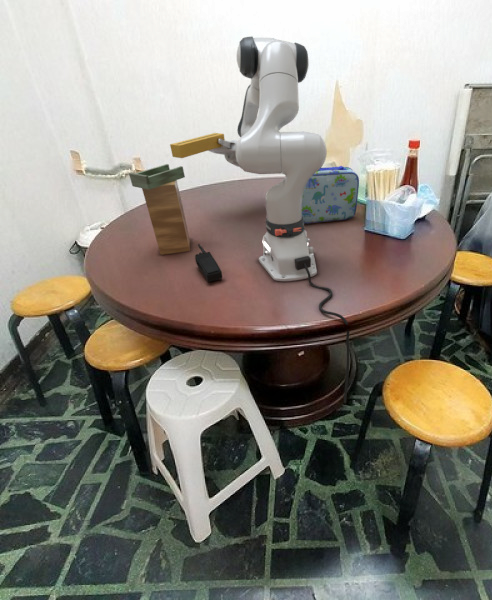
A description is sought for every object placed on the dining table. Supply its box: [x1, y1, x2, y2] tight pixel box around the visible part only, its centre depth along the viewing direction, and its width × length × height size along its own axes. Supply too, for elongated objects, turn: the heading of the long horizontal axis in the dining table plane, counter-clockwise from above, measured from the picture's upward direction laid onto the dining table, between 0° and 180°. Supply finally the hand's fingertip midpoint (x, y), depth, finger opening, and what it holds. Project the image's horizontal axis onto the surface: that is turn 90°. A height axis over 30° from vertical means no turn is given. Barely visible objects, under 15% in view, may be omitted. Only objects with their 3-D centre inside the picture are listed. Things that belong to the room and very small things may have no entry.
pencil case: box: [169, 132, 226, 159], centre depth 124 cm, size 22×4×4 cm, turn 149°
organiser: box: [128, 163, 191, 256], centre depth 120 cm, size 15×14×28 cm
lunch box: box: [302, 165, 360, 224], centre depth 140 cm, size 26×11×21 cm, turn 101°
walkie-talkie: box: [194, 243, 223, 283], centre depth 112 cm, size 6×6×20 cm
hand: (212, 139), depth 129 cm, fingers closed on pencil case, 4 cm apart
